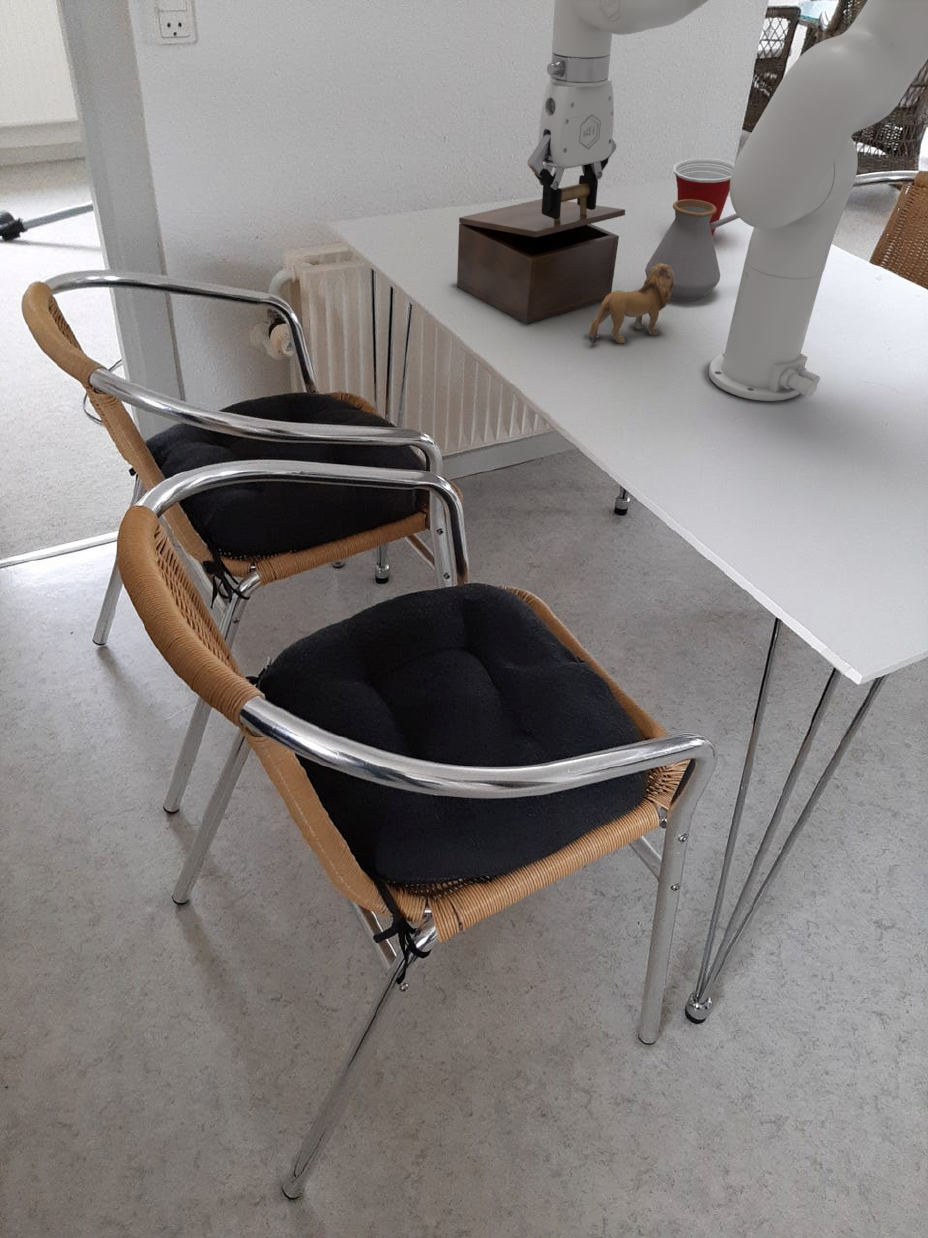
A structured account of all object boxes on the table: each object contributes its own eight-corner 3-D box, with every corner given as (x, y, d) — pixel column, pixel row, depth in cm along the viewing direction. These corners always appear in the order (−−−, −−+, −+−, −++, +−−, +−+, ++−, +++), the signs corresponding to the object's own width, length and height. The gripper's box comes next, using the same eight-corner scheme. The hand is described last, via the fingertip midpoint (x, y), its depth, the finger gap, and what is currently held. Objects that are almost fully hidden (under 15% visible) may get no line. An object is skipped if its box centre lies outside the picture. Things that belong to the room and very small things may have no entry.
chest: (610, 298, 153) (619, 235, 147) (526, 324, 145) (531, 258, 139) (539, 263, 163) (544, 203, 157) (456, 286, 154) (458, 223, 148)
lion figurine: (648, 315, 149) (658, 255, 143) (675, 328, 146) (687, 267, 140) (577, 340, 141) (585, 277, 135) (604, 354, 138) (613, 290, 132)
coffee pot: (653, 306, 151) (671, 204, 142) (633, 276, 160) (648, 178, 150) (788, 304, 154) (814, 203, 144) (761, 275, 163) (784, 178, 153)
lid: (625, 215, 144) (625, 177, 142) (536, 237, 136) (535, 198, 134) (545, 203, 156) (544, 168, 154) (459, 223, 148) (456, 186, 145)
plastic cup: (649, 231, 176) (661, 159, 168) (700, 224, 180) (713, 153, 172) (685, 253, 169) (698, 178, 161) (737, 245, 172) (752, 172, 165)
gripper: (549, 81, 124) (540, 230, 135) (647, 66, 132) (630, 207, 143) (510, 71, 128) (504, 216, 139) (606, 56, 137) (594, 194, 148)
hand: (568, 210), depth 141 cm, fingers closed on lid, 6 cm apart
